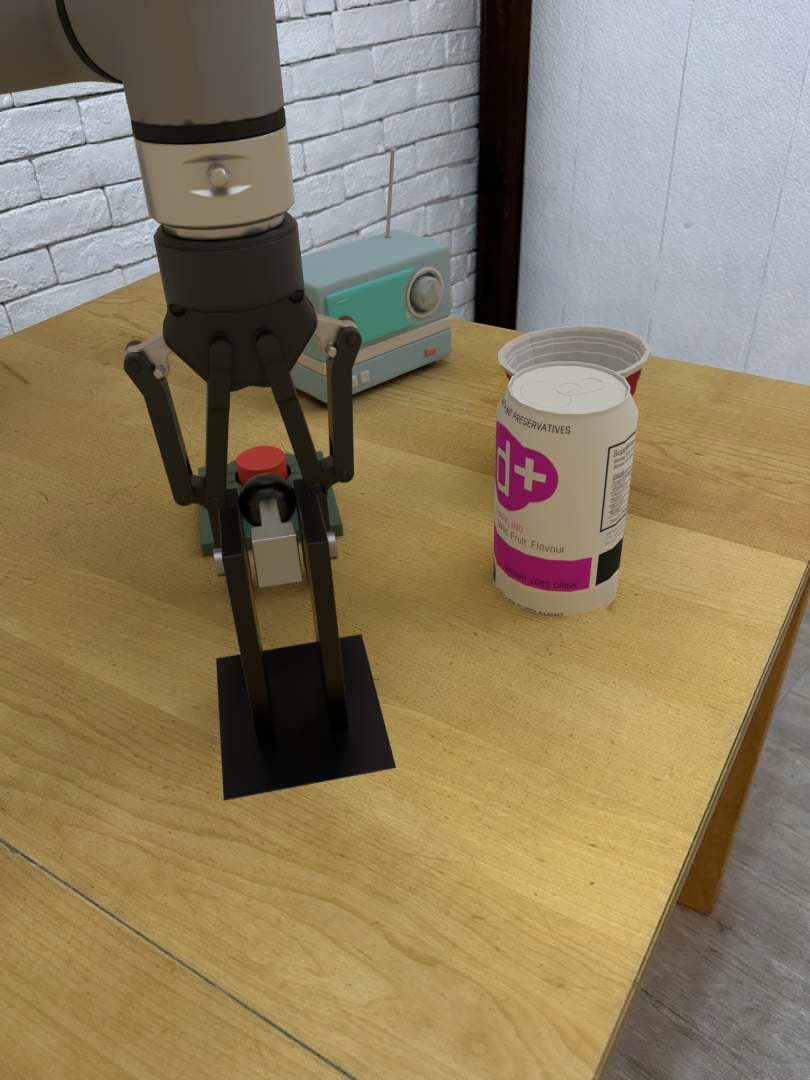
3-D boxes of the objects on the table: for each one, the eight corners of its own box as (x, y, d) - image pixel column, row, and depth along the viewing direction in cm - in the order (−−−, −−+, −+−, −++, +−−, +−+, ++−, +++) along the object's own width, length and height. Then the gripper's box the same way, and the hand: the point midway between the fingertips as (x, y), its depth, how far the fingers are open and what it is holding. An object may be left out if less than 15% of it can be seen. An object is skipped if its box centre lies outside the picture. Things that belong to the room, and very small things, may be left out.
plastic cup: (536, 443, 77) (542, 308, 71) (656, 477, 72) (675, 334, 65) (468, 501, 70) (468, 357, 64) (596, 543, 65) (611, 391, 58)
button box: (202, 490, 73) (193, 447, 71) (324, 473, 75) (320, 430, 72) (205, 569, 64) (196, 523, 62) (344, 548, 66) (340, 502, 64)
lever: (243, 526, 59) (234, 472, 58) (297, 518, 60) (290, 465, 59) (245, 602, 44) (233, 531, 43) (319, 590, 44) (309, 520, 43)
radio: (335, 417, 83) (314, 190, 71) (279, 387, 89) (251, 173, 77) (460, 365, 91) (459, 154, 80) (401, 341, 97) (392, 141, 85)
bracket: (218, 672, 56) (177, 480, 48) (363, 648, 57) (346, 456, 49) (226, 815, 47) (177, 608, 39) (397, 782, 48) (383, 576, 40)
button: (238, 469, 69) (234, 449, 68) (285, 462, 69) (282, 442, 68) (240, 493, 66) (237, 473, 65) (290, 486, 66) (287, 466, 65)
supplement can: (532, 645, 56) (544, 432, 48) (472, 573, 63) (473, 373, 54) (641, 608, 59) (671, 399, 50) (573, 542, 65) (589, 347, 57)
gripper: (50, 256, 43) (150, 633, 56) (395, 221, 45) (413, 590, 59) (66, 215, 49) (153, 564, 62) (369, 186, 51) (390, 528, 65)
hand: (279, 576), depth 60 cm, fingers closed on lever, 4 cm apart
